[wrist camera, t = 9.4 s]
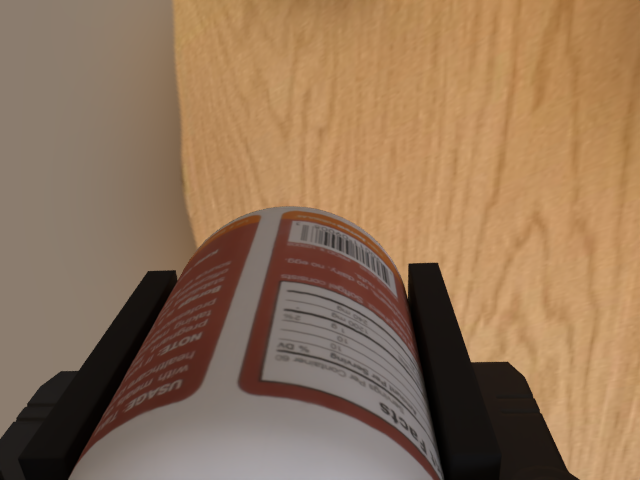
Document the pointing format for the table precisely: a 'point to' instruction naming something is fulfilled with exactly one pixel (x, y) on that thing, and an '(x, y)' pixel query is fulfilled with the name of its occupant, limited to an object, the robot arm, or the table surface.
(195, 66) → the table surface
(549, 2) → the table surface
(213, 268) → the pill bottle
